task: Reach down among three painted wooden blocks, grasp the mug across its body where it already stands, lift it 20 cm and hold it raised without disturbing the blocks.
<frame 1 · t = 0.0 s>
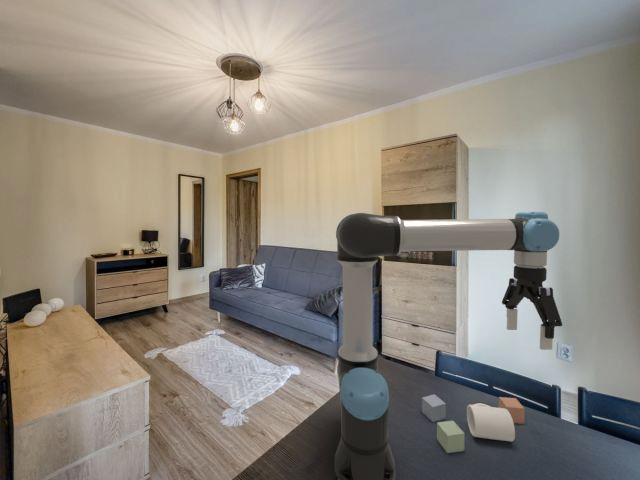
hand: (527, 338, 81), 28 cm above the table, fingers open, 13 cm apart
mug: (486, 431, 83), on the table
terracotta block: (510, 417, 88), on the table
sage block: (450, 445, 78), on the table
slate block: (433, 415, 90), on the table
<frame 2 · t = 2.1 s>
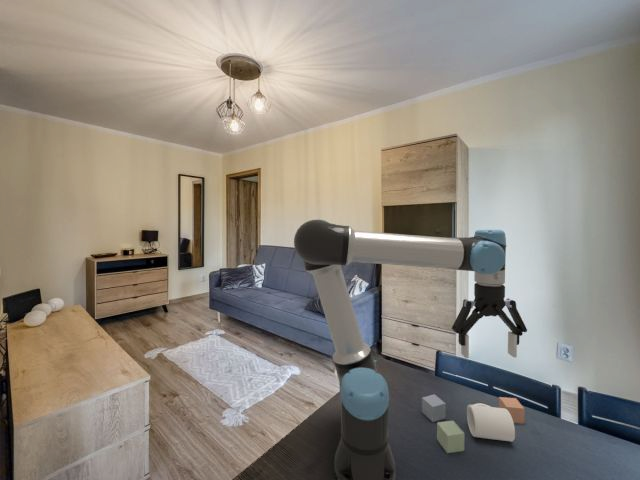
hand: (488, 355, 81), 23 cm above the table, fingers open, 13 cm apart
nothing on the table moved.
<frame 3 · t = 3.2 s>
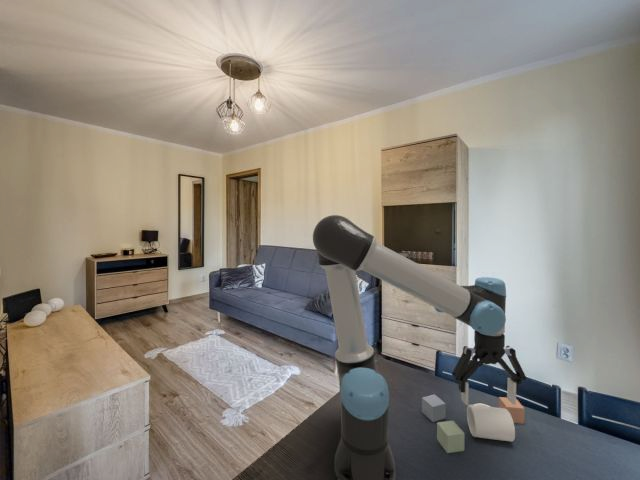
hand: (487, 402, 82), 9 cm above the table, fingers open, 13 cm apart
nothing on the table moved.
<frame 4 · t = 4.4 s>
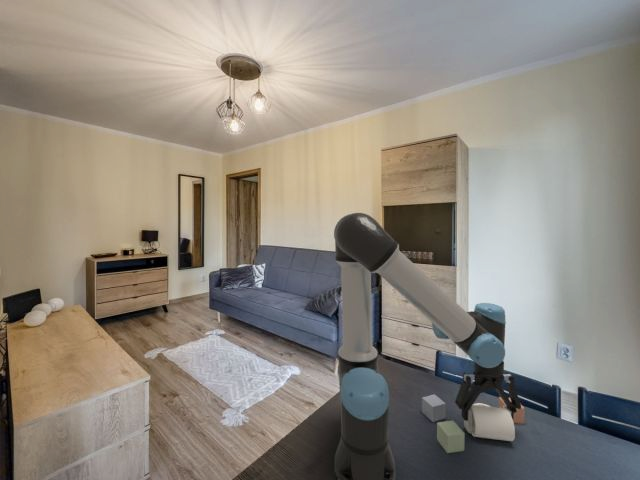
hand: (486, 429, 82), 0 cm above the table, fingers closed on mug, 11 cm apart
mug: (486, 430, 83), on the table, touching gripper
everything else where it was.
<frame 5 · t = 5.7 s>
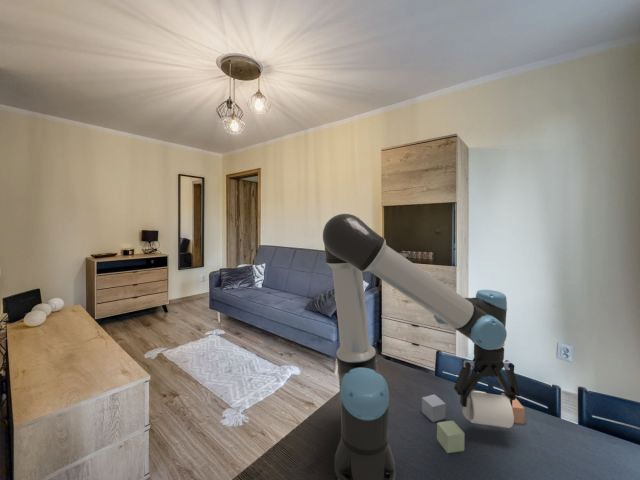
hand: (485, 416, 82), 4 cm above the table, fingers closed on mug, 11 cm apart
mug: (484, 418, 83), point 4 cm above the table, touching gripper
everything else where it was.
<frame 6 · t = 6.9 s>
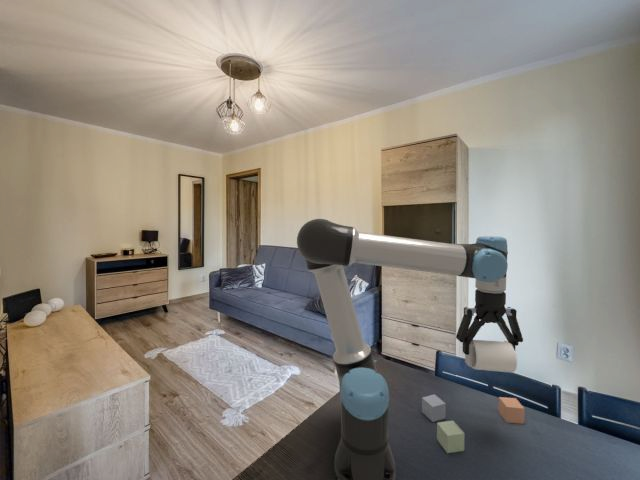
hand: (488, 364, 81), 20 cm above the table, fingers closed on mug, 11 cm apart
mug: (487, 366, 82), point 20 cm above the table, touching gripper
everything else where it was.
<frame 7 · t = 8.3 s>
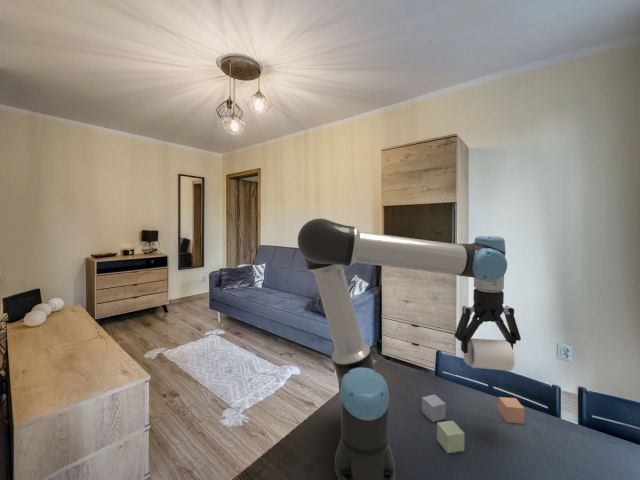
hand: (486, 363, 82), 20 cm above the table, fingers closed on mug, 11 cm apart
mug: (485, 364, 83), point 20 cm above the table, touching gripper
everything else where it was.
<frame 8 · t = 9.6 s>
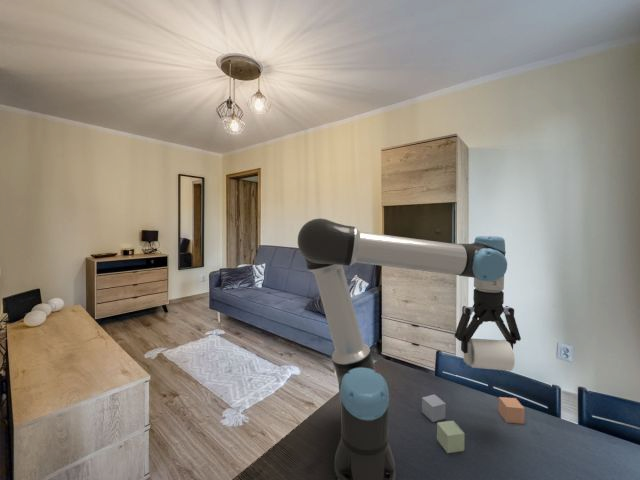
hand: (486, 363, 82), 20 cm above the table, fingers closed on mug, 11 cm apart
mug: (485, 364, 83), point 20 cm above the table, touching gripper
everything else where it was.
at the end: the gripper is holding mug; mug point 19.6 cm above the table; slate block moved 0.1 cm from its start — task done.
